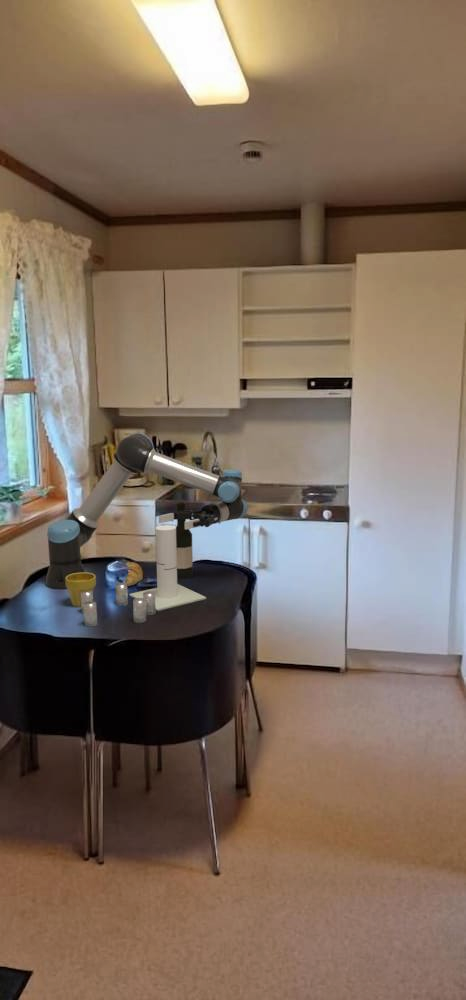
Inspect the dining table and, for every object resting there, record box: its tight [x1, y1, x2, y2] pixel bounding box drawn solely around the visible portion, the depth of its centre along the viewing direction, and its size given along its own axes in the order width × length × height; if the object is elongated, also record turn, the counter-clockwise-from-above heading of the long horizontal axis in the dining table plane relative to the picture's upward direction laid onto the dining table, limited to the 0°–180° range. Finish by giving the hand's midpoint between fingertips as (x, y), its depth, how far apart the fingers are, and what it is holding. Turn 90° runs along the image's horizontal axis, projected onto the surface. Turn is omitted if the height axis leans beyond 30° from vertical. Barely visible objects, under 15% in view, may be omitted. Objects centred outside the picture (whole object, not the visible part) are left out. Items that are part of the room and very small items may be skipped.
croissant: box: [125, 561, 144, 587], centre depth 262 cm, size 21×10×8 cm, turn 7°
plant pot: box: [66, 571, 97, 607], centre depth 235 cm, size 10×10×10 cm
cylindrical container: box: [155, 524, 178, 599], centre depth 239 cm, size 7×7×25 cm
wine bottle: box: [175, 500, 194, 580], centre depth 263 cm, size 8×8×30 cm
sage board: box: [128, 583, 207, 612], centre depth 241 cm, size 20×20×1 cm
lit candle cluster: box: [80, 582, 157, 627], centre depth 223 cm, size 22×24×7 cm
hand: (172, 522), depth 240 cm, fingers open, 13 cm apart
